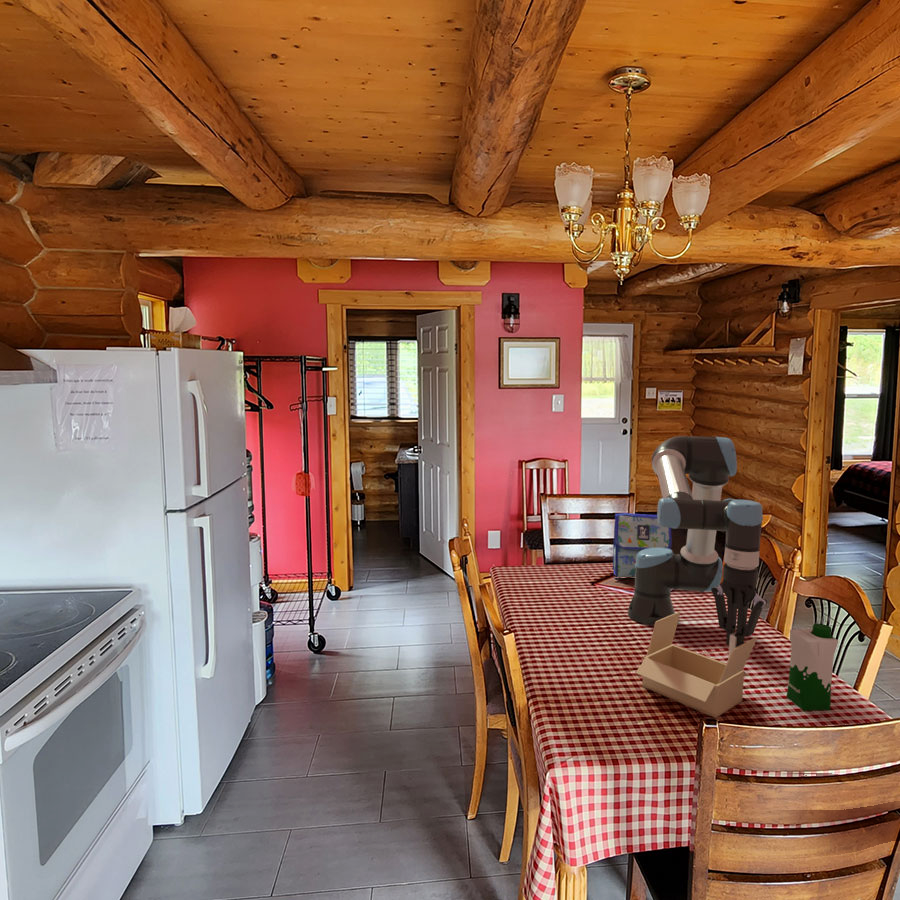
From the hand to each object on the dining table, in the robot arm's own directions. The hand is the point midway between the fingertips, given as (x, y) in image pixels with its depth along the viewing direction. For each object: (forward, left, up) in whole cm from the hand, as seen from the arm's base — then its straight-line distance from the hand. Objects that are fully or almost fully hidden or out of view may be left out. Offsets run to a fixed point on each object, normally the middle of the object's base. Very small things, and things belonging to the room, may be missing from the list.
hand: (733, 659), depth 158 cm
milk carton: (+11, +19, -13) cm, 25 cm away
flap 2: (-1, 0, -5) cm, 5 cm away
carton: (-10, 0, -13) cm, 17 cm away
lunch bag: (-76, +74, -13) cm, 107 cm away
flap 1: (-20, 0, -5) cm, 21 cm away
